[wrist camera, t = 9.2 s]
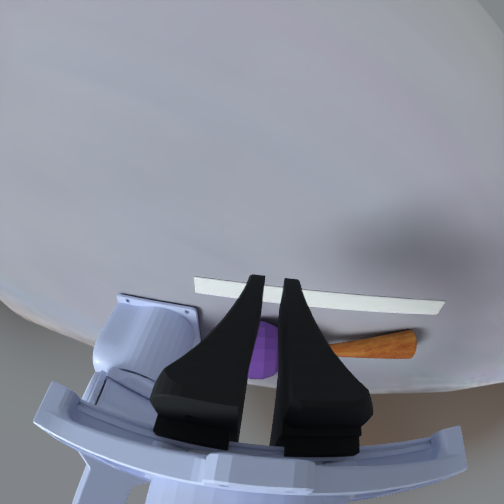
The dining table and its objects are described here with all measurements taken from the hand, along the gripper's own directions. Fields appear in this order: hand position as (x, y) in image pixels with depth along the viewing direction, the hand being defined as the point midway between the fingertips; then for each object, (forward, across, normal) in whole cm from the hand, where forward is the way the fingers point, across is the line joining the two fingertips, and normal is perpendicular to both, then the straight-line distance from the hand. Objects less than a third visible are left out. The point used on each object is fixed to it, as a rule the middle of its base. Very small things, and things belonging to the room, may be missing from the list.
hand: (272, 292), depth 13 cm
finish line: (+9, -6, +9) cm, 14 cm away
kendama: (+10, -7, +14) cm, 18 cm away
